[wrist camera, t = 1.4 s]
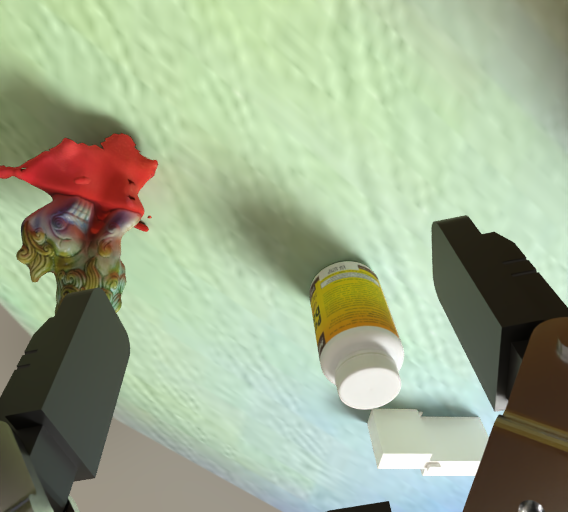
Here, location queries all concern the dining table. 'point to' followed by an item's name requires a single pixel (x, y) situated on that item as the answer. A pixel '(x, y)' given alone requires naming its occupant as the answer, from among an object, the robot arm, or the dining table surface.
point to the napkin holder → (426, 442)
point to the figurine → (83, 213)
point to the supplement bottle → (356, 335)
